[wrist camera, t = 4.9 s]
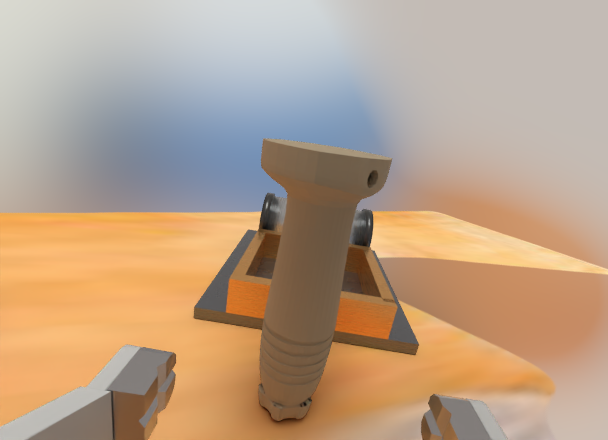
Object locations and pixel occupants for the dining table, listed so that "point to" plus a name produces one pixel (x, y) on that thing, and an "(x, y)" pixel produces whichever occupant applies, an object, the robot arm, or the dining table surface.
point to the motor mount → (354, 294)
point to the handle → (309, 264)
